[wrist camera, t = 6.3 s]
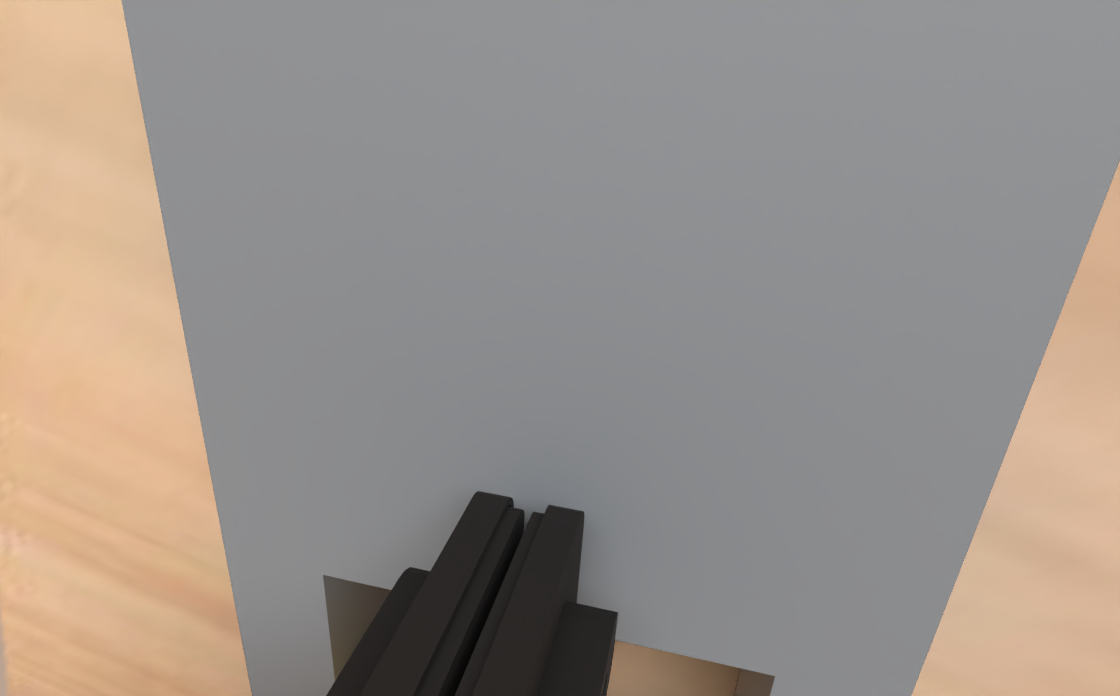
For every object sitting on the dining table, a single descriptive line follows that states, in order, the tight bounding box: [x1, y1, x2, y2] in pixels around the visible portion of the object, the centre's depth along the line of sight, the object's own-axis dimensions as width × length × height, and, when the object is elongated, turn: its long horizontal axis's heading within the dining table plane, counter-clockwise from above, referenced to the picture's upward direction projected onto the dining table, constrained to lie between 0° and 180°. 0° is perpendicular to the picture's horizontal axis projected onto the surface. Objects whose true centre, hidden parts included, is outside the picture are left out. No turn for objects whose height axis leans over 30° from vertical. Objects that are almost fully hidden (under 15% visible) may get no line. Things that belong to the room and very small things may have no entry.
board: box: [122, 0, 1120, 696], centre depth 11 cm, size 12×24×6 cm, turn 177°
